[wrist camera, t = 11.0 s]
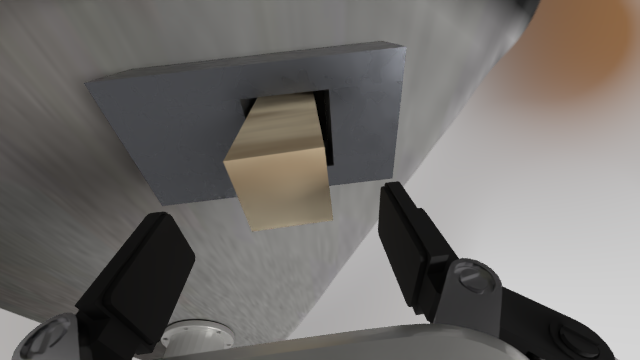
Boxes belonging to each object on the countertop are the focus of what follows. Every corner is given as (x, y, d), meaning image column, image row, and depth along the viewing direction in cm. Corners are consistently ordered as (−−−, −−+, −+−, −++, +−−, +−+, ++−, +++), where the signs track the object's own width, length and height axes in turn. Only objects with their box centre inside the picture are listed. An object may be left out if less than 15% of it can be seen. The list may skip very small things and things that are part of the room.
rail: (376, 151, 24) (392, 178, 20) (185, 174, 24) (162, 205, 20) (382, 41, 18) (406, 46, 14) (132, 69, 18) (83, 83, 14)
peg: (317, 133, 23) (333, 220, 13) (272, 139, 23) (252, 231, 13) (311, 85, 20) (324, 147, 10) (260, 92, 20) (223, 161, 10)
